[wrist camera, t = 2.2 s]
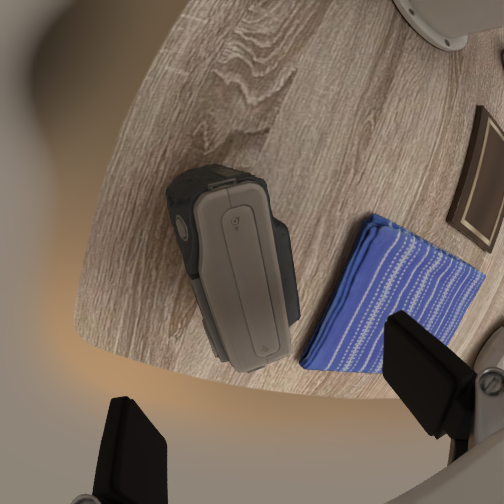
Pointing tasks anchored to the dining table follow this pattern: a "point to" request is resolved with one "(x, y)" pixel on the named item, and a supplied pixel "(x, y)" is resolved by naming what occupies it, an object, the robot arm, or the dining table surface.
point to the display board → (481, 184)
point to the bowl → (491, 352)
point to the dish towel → (389, 297)
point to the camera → (236, 263)
